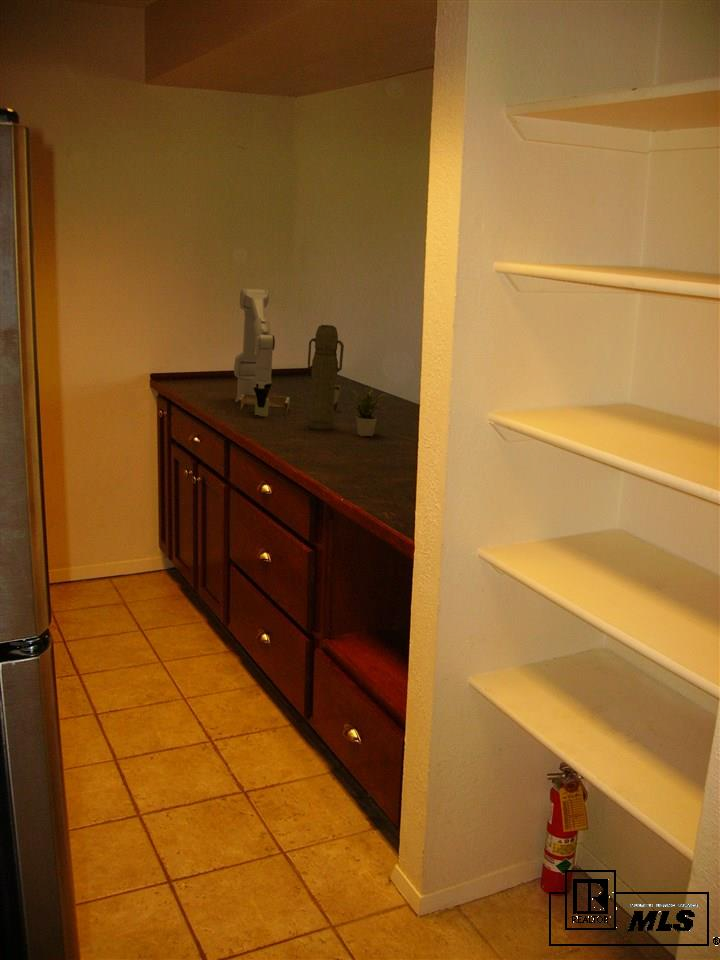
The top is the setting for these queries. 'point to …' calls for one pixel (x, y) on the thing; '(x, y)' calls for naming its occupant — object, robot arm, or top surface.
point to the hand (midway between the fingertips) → (261, 405)
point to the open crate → (273, 401)
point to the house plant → (366, 414)
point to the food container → (336, 396)
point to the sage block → (260, 410)
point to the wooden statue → (324, 377)
